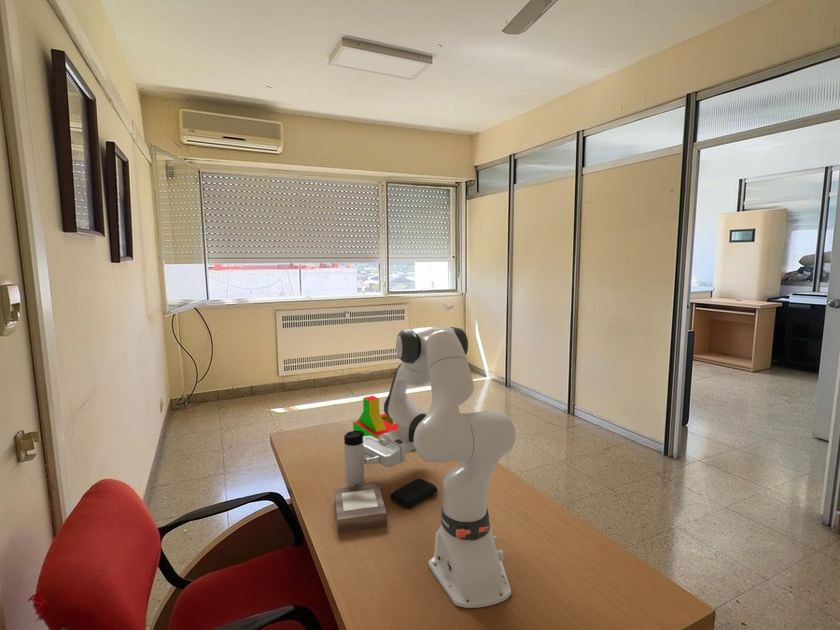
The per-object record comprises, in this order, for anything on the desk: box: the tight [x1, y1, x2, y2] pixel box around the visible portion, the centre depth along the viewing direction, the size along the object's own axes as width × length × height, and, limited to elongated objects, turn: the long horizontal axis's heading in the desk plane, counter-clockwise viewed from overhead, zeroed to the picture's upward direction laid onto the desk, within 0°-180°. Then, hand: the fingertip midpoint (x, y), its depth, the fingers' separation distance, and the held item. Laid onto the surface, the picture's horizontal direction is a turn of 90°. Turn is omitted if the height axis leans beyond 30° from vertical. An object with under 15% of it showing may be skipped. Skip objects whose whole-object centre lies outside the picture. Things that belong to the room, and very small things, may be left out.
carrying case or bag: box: [389, 477, 439, 509], centre depth 143 cm, size 11×3×15 cm
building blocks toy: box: [352, 395, 399, 439], centre depth 186 cm, size 19×25×18 cm
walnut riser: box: [334, 483, 388, 534], centre depth 134 cm, size 17×14×4 cm
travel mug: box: [343, 430, 365, 488], centre depth 146 cm, size 6×7×20 cm
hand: (357, 457), depth 147 cm, fingers open, 8 cm apart
